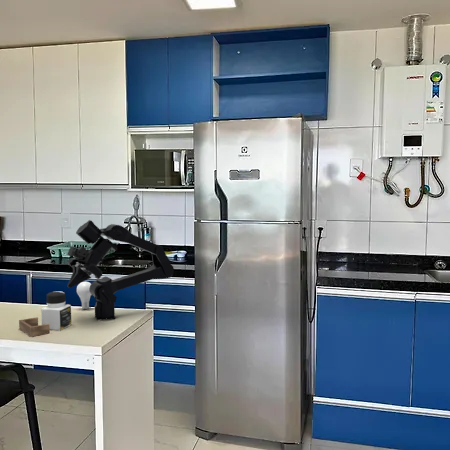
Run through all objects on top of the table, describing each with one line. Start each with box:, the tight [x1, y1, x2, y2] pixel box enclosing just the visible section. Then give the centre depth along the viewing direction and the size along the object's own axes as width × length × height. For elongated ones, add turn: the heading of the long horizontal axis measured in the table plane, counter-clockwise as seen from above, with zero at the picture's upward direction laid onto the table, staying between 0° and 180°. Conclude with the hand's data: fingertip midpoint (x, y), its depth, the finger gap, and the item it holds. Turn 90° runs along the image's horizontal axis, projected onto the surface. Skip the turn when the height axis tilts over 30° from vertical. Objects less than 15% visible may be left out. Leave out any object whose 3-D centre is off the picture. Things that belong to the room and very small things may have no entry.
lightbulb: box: [76, 280, 92, 310], centre depth 186 cm, size 6×6×11 cm
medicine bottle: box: [40, 290, 72, 331], centre depth 162 cm, size 7×7×12 cm
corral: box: [18, 316, 51, 338], centre depth 157 cm, size 6×12×3 cm, turn 40°
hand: (68, 287), depth 164 cm, fingers closed
